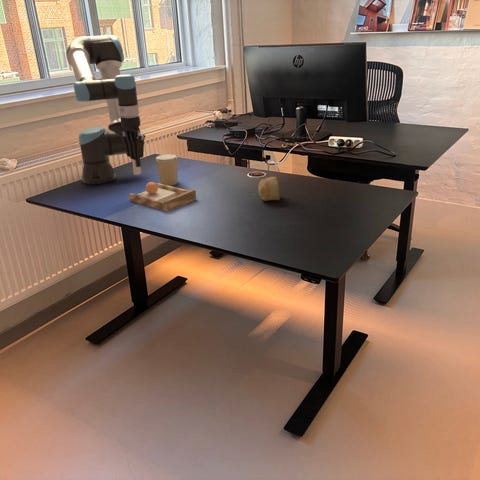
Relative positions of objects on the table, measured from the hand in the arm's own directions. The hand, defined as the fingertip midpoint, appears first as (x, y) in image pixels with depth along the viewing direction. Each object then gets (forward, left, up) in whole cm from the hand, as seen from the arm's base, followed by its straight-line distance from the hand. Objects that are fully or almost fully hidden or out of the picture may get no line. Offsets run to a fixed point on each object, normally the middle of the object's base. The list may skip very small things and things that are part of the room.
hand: (137, 173), depth 195 cm
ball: (+8, 0, -5) cm, 9 cm away
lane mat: (+14, 0, -9) cm, 16 cm away
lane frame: (+14, 0, -9) cm, 16 cm away
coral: (+50, +24, -9) cm, 56 cm away
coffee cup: (0, +17, -9) cm, 19 cm away
